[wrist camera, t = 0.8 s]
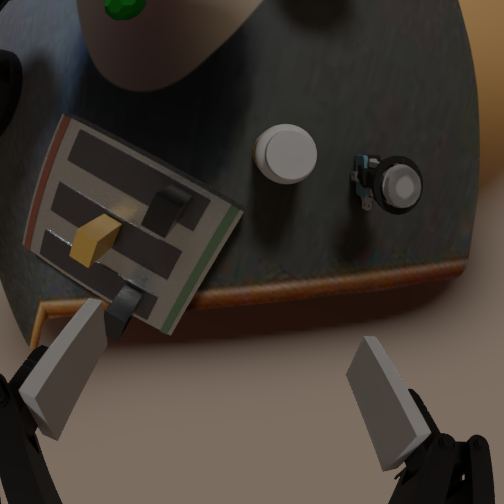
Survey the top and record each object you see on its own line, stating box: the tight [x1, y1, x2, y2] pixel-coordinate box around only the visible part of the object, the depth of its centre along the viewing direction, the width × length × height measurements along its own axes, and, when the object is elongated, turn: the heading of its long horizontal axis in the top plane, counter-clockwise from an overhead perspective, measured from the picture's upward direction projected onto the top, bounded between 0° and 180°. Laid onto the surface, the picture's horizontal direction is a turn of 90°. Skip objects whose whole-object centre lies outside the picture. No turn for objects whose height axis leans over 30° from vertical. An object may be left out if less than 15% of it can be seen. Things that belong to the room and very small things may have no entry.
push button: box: [351, 155, 423, 215], centre depth 27 cm, size 7×5×10 cm
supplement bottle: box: [253, 124, 317, 184], centre depth 26 cm, size 5×5×10 cm
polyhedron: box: [104, 0, 146, 20], centre depth 21 cm, size 5×5×5 cm
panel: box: [23, 114, 244, 341], centre depth 28 cm, size 24×18×10 cm
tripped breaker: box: [69, 214, 122, 268], centre depth 26 cm, size 2×3×6 cm
